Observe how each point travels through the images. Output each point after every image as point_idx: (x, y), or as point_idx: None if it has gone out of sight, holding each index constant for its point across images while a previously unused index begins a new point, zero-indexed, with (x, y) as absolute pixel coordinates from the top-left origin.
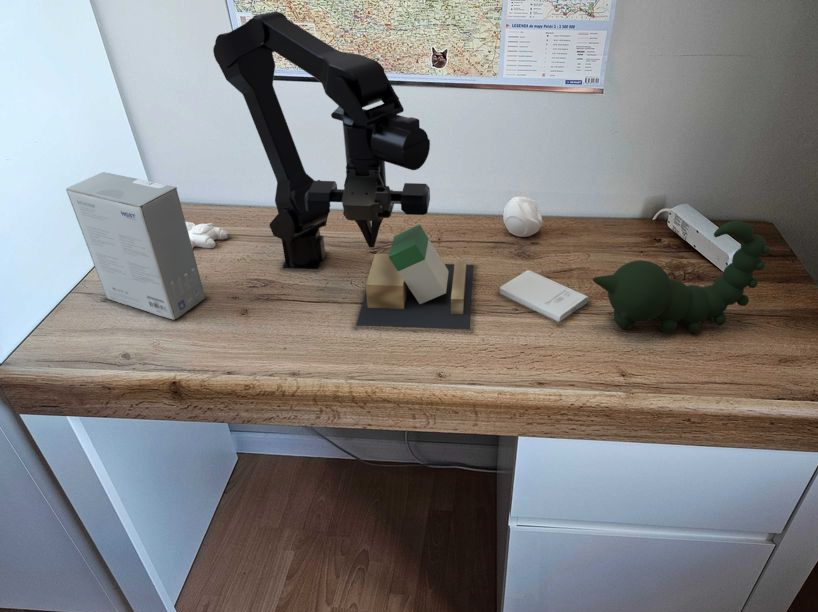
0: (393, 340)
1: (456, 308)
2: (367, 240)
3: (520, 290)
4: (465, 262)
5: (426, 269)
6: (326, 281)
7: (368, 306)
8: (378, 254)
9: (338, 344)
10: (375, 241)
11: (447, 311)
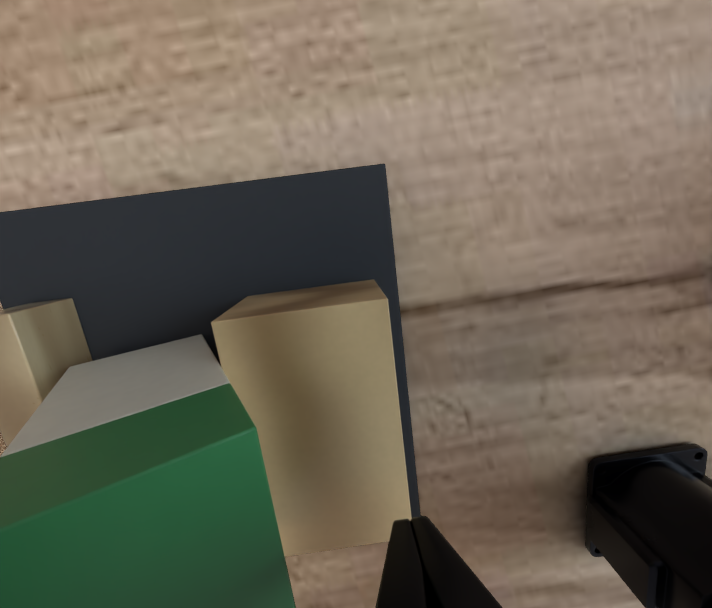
0: (229, 108)
1: (28, 305)
2: (448, 560)
3: None
4: None
5: (55, 413)
6: (547, 408)
7: (371, 280)
8: None
9: (418, 43)
10: (384, 564)
11: (90, 311)
